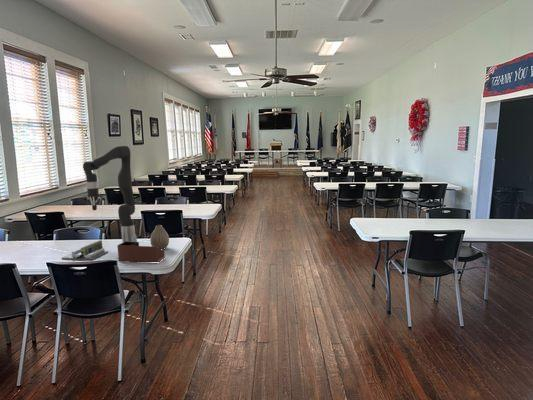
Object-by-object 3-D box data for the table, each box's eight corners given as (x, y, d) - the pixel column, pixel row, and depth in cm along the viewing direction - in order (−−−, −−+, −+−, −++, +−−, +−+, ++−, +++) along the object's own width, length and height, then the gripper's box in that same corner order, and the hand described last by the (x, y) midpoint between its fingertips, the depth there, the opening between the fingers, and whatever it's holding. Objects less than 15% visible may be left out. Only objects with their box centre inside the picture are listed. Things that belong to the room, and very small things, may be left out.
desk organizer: (126, 257, 246) (125, 241, 244) (166, 258, 240) (165, 242, 238) (117, 261, 235) (116, 245, 234) (158, 264, 230) (157, 247, 228)
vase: (158, 252, 253) (156, 228, 250) (147, 249, 261) (145, 226, 258) (173, 248, 263) (171, 225, 261) (162, 245, 271) (160, 223, 269)
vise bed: (108, 252, 256) (107, 247, 255) (92, 260, 238) (91, 255, 238) (79, 251, 260) (79, 246, 259) (61, 259, 242) (61, 254, 242)
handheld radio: (103, 249, 260) (79, 259, 236) (99, 249, 261) (75, 259, 237) (102, 240, 259) (78, 250, 235) (98, 240, 260) (73, 250, 236)
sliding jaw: (95, 250, 256) (94, 245, 256) (80, 257, 241) (79, 251, 240) (87, 250, 257) (87, 245, 257) (72, 257, 242) (71, 251, 241)
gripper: (103, 187, 274) (105, 209, 276) (87, 187, 276) (90, 209, 278) (97, 188, 266) (99, 211, 269) (81, 188, 268) (83, 210, 271)
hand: (94, 210), depth 274 cm, fingers closed
